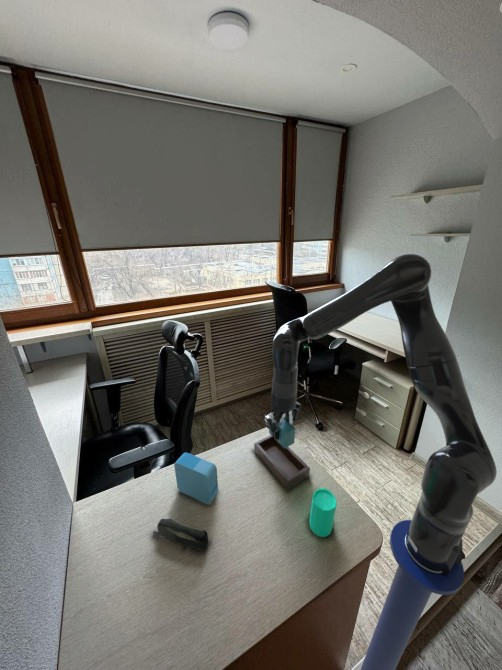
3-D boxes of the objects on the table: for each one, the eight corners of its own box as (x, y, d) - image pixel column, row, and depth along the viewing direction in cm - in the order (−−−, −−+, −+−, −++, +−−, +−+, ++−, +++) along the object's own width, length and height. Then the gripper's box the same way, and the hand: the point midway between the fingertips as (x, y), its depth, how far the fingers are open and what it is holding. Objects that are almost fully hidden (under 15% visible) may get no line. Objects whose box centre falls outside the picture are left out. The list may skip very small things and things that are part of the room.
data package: (218, 493, 81) (216, 464, 77) (210, 506, 78) (208, 476, 73) (186, 478, 86) (183, 450, 81) (177, 490, 82) (173, 461, 78)
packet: (278, 428, 91) (279, 413, 89) (294, 443, 85) (295, 428, 82) (269, 432, 89) (269, 418, 87) (284, 448, 83) (285, 433, 80)
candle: (310, 511, 76) (314, 481, 72) (332, 518, 75) (338, 488, 70) (307, 532, 71) (311, 501, 67) (331, 540, 69) (336, 509, 65)
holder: (309, 476, 87) (310, 468, 85) (287, 490, 82) (288, 481, 81) (274, 440, 101) (274, 432, 100) (254, 451, 97) (254, 442, 95)
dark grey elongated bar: (209, 528, 68) (155, 513, 71) (204, 541, 65) (149, 524, 68) (209, 540, 69) (157, 525, 73) (205, 553, 67) (151, 537, 70)
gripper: (293, 377, 86) (290, 420, 93) (257, 391, 79) (256, 436, 86) (310, 389, 80) (305, 433, 87) (272, 405, 73) (270, 452, 80)
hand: (281, 434), depth 86 cm, fingers closed on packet, 4 cm apart
